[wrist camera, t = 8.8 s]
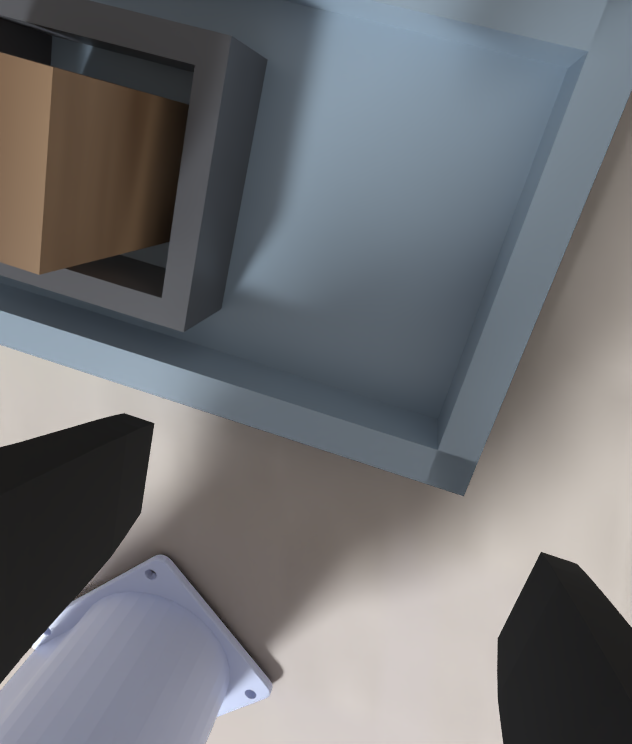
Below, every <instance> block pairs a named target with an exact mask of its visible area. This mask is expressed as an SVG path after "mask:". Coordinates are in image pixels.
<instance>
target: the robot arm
mask: <svg viewBox="0 0 632 744" xmlns="http://www.w3.org/2000/svg"><path fill="white" fill-rule="evenodd" d="M153 429H154V423H152V422H149V421H146V420H143V419H140V418H137V417H134V416H131V415H128V414H125V413H124V414H119V415H114V416H110V417H106V418H102V419H99V420H95V421H91V422H88V423H85V424H81V425H78V426H74V427H71V428H68V429H64V430H61V431H57V432H54V433H50V434H47V435H43V436H40V437H36V438H33V439H29V440H26V441H23V442H19V443H15V444H11V445H7V446H3V447H0V684H1V682H2V681H3V680H4V679H5V677H6V676H7V675H8V674H9V672H10V671H11V670H12V669H13V668H14V666H15V665H16V664H17V663H18V662H19V660H20V659H21V658H22V657H23V656H24V654H25V653H26V652H27V651H28V650H29V649H30V648H31V647H33V648H34V649H35V650H34V651H33V653H32V654H31V655H30V656H29V657H28V658H27V660H26V661H25V662H24V663H23V664H22V666H21V667H20V668H19V669H18V670H17V671H16V673H15V674H14V675H13V676H12V677H11V678H10V680H9V681H8V682H7V683H6V684H5V686H4V687H3V688H2V689H1V690H0V744H206V742H207V739H208V737H209V735H210V732H211V730H212V727H213V725H214V722H215V720H216V717H218V716H220V715H223V714H226V713H228V712H231V711H234V710H236V709H239V708H242V707H244V706H247V705H249V704H252V703H255V702H257V701H260V700H263V699H265V698H267V697H269V695H270V693H271V690H272V683H271V681H270V680H269V678H268V677H267V676H266V675H265V674H264V672H263V671H262V670H261V669H260V667H259V666H258V665H257V664H256V663H255V661H254V660H253V659H252V658H251V656H250V655H249V654H248V653H247V652H246V650H245V649H244V648H243V647H242V646H241V644H240V643H239V642H238V641H237V639H236V638H235V637H234V636H233V635H232V633H231V632H230V631H229V630H228V628H227V627H226V626H225V625H224V624H223V622H222V621H221V620H220V619H219V618H218V616H217V615H216V614H215V613H214V611H213V610H212V609H211V608H210V607H209V605H208V604H207V603H206V602H205V601H204V599H203V598H202V597H201V596H200V594H199V593H198V592H197V591H196V590H195V588H194V587H193V586H192V585H191V583H190V582H189V581H188V580H187V579H186V577H185V576H184V575H183V574H182V573H181V571H180V570H179V569H178V568H177V566H176V565H175V564H174V563H173V562H172V560H171V559H170V558H168V557H167V556H165V555H156V556H154V557H152V558H150V559H148V560H147V561H145V562H143V563H141V564H139V565H137V566H136V567H134V568H132V569H130V570H128V571H127V572H125V573H123V574H121V575H119V576H117V577H116V578H114V579H112V580H110V581H108V582H107V583H105V584H103V585H101V586H99V587H98V588H96V589H94V590H92V591H90V592H88V593H87V594H85V595H83V596H81V597H79V598H78V599H76V600H74V598H75V597H76V596H77V595H78V594H79V593H80V592H81V591H82V589H83V588H84V587H85V586H86V585H87V584H88V583H89V582H90V580H91V579H92V578H93V577H94V576H95V575H96V574H97V572H98V571H99V570H100V569H101V568H102V567H103V566H104V564H105V563H106V562H107V561H108V560H109V559H110V557H111V556H112V555H113V553H114V552H115V550H116V549H117V548H118V546H119V545H120V543H121V542H122V540H123V539H124V538H125V536H126V535H127V533H128V532H129V530H130V528H131V527H132V525H133V524H134V522H135V521H136V519H137V518H138V516H139V515H140V513H141V509H142V502H143V495H144V489H145V482H146V475H147V469H148V462H149V455H150V449H151V442H152V435H153ZM150 569H151V570H153V571H154V572H155V573H153V572H152V571H151V570H150ZM73 600H74V601H73ZM497 679H498V704H499V713H500V721H501V729H502V737H503V744H632V627H631V626H630V625H629V624H628V623H627V621H626V620H625V619H624V618H623V617H622V615H621V614H620V613H619V612H618V611H617V609H616V608H615V607H614V606H613V604H612V603H611V602H610V601H609V600H608V598H607V597H606V596H605V595H604V594H603V592H602V591H601V590H600V589H599V588H598V587H597V585H596V584H595V583H594V582H593V581H592V580H591V578H590V577H589V576H588V575H587V574H586V573H585V572H584V571H583V570H582V569H581V568H580V567H579V566H578V565H577V564H576V563H573V562H570V561H567V560H564V559H561V558H558V557H555V556H552V555H549V554H546V553H543V552H541V553H540V555H539V557H538V559H537V561H536V563H535V565H534V567H533V569H532V571H531V573H530V575H529V577H528V579H527V581H526V583H525V585H524V587H523V589H522V591H521V593H520V595H519V597H518V599H517V601H516V603H515V605H514V607H513V609H512V611H511V613H510V615H509V617H508V619H507V621H506V623H505V625H504V627H503V629H502V631H501V633H500V635H499V637H498V661H497ZM252 690H253V691H252Z"/></svg>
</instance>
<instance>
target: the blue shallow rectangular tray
mask: <svg viewBox="0 0 632 744" xmlns="http://www.w3.org/2000/svg"><path fill="white" fill-rule="evenodd" d="M0 52H2V53H6V54H10V55H13V56H17V57H20V58H24V59H28V60H31V61H35V62H39V63H42V64H46V65H49V66H53V67H57V68H60V69H64V70H67V71H71V72H75V73H78V74H82V75H85V76H89V77H92V78H96V79H100V80H103V81H107V82H110V83H114V84H117V85H121V86H125V87H128V88H132V89H135V90H139V91H142V92H146V93H149V94H153V95H157V96H160V97H164V98H167V99H171V100H174V101H178V102H181V103H185V104H189V109H188V117H187V124H186V131H185V138H184V145H183V152H182V159H181V166H180V173H179V180H178V187H177V194H176V201H175V208H174V215H173V222H172V229H171V236H170V242H167V243H163V244H159V245H155V246H151V247H147V248H143V249H139V250H135V251H131V252H127V253H123V254H120V255H116V256H112V257H108V258H104V259H100V260H96V261H92V262H88V263H84V264H80V265H76V266H72V267H68V268H64V269H60V270H56V271H52V272H48V273H44V274H40V275H38V274H35V273H32V272H29V271H26V270H23V269H20V268H17V267H14V266H10V265H7V264H4V263H1V262H0V345H3V346H6V347H9V348H12V349H15V350H18V351H21V352H24V353H27V354H30V355H33V356H36V357H39V358H42V359H45V360H48V361H52V362H55V363H58V364H61V365H64V366H67V367H70V368H73V369H76V370H79V371H82V372H85V373H88V374H91V375H94V376H97V377H100V378H104V379H107V380H110V381H113V382H116V383H119V384H122V385H125V386H128V387H131V388H134V389H137V390H140V391H143V392H146V393H149V394H153V395H156V396H159V397H162V398H165V399H168V400H171V401H174V402H177V403H180V404H183V405H186V406H189V407H192V408H195V409H198V410H201V411H205V412H208V413H211V414H214V415H217V416H220V417H223V418H226V419H229V420H232V421H235V422H238V423H241V424H244V425H247V426H250V427H254V428H257V429H260V430H263V431H266V432H269V433H272V434H275V435H278V436H281V437H284V438H287V439H290V440H293V441H296V442H299V443H302V444H306V445H309V446H312V447H315V448H318V449H321V450H324V451H327V452H330V453H333V454H336V455H339V456H342V457H345V458H348V459H351V460H355V461H358V462H361V463H364V464H367V465H370V466H373V467H376V468H379V469H382V470H385V471H388V472H391V473H394V474H397V475H400V476H404V477H407V478H410V479H413V480H416V481H419V482H422V483H425V484H428V485H431V486H434V487H437V488H440V489H443V490H446V491H449V492H452V493H456V494H459V495H462V496H464V494H465V492H466V489H467V487H468V485H469V482H470V480H471V477H472V475H473V472H474V470H475V468H476V465H477V463H478V460H479V458H480V456H481V453H482V451H483V448H484V446H485V444H486V441H487V439H488V436H489V434H490V431H491V429H492V427H493V424H494V422H495V419H496V417H497V415H498V412H499V410H500V407H501V405H502V402H503V400H504V398H505V395H506V393H507V390H508V388H509V386H510V383H511V381H512V378H513V376H514V373H515V371H516V369H517V366H518V364H519V361H520V359H521V357H522V354H523V352H524V349H525V347H526V345H527V342H528V340H529V337H530V335H531V332H532V330H533V328H534V325H535V323H536V320H537V318H538V316H539V313H540V311H541V308H542V306H543V303H544V301H545V299H546V296H547V294H548V291H549V289H550V287H551V284H552V282H553V279H554V277H555V274H556V272H557V270H558V267H559V265H560V262H561V260H562V258H563V255H564V253H565V250H566V248H567V246H568V243H569V241H570V238H571V236H572V233H573V231H574V229H575V226H576V224H577V221H578V219H579V217H580V214H581V212H582V209H583V207H584V204H585V202H586V200H587V197H588V195H589V192H590V190H591V188H592V185H593V183H594V180H595V178H596V175H597V173H598V171H599V168H600V166H601V163H602V161H603V159H604V156H605V154H606V151H607V149H608V147H609V144H610V142H611V139H612V137H613V134H614V132H615V130H616V127H617V125H618V122H619V120H620V118H621V115H622V113H623V110H624V108H625V105H626V103H627V101H628V98H629V96H630V93H631V91H632V0H0Z"/></svg>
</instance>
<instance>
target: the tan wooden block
mask: <svg viewBox="0 0 632 744" xmlns="http://www.w3.org/2000/svg"><path fill="white" fill-rule="evenodd" d="M188 109H189V104H185V103H181V102H178V101H174V100H171V99H167V98H164V97H160V96H157V95H153V94H149V93H146V92H142V91H139V90H135V89H132V88H128V87H125V86H121V85H117V84H114V83H110V82H107V81H103V80H100V79H96V78H92V77H89V76H85V75H82V74H78V73H75V72H71V71H67V70H64V69H60V68H57V67H53V66H49V65H46V64H42V63H39V62H35V61H31V60H28V59H24V58H20V57H17V56H13V55H10V54H6V53H2V52H0V262H1V263H4V264H7V265H10V266H14V267H17V268H20V269H23V270H26V271H29V272H32V273H35V274H38V275H40V274H44V273H48V272H52V271H56V270H60V269H64V268H68V267H72V266H76V265H80V264H84V263H88V262H92V261H96V260H100V259H104V258H108V257H112V256H116V255H120V254H123V253H127V252H131V251H135V250H139V249H143V248H147V247H151V246H155V245H159V244H163V243H167V242H170V236H171V229H172V222H173V215H174V208H175V201H176V194H177V187H178V180H179V173H180V166H181V159H182V152H183V145H184V138H185V131H186V124H187V117H188Z"/></svg>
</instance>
